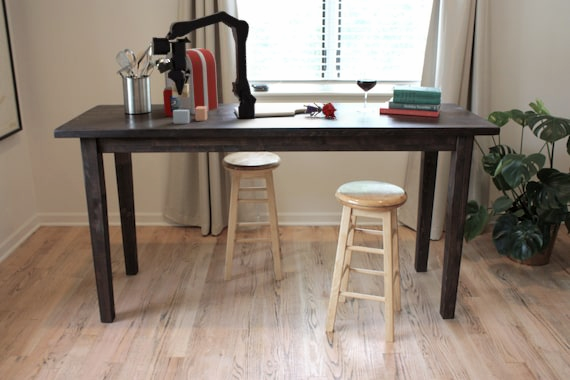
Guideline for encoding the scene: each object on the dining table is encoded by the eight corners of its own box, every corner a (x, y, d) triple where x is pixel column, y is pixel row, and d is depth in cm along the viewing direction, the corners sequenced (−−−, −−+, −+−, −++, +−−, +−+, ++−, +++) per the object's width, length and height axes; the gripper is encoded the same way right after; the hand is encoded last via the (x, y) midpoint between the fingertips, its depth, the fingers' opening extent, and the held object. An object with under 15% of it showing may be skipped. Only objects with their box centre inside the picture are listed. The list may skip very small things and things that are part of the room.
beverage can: (177, 117, 262) (175, 89, 258) (162, 116, 263) (160, 88, 260) (182, 114, 268) (181, 87, 265) (168, 114, 269) (166, 86, 266)
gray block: (190, 121, 252) (189, 109, 250) (188, 123, 248) (187, 111, 247) (175, 121, 252) (174, 109, 251) (173, 123, 248) (172, 111, 247)
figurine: (306, 112, 263) (340, 114, 259) (301, 120, 257) (335, 122, 252) (305, 98, 260) (340, 100, 256) (300, 106, 253) (335, 107, 249)
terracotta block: (198, 118, 260) (197, 106, 258) (207, 118, 259) (206, 106, 258) (195, 120, 254) (195, 108, 252) (205, 120, 254) (204, 108, 252)
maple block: (189, 96, 249) (188, 83, 247) (187, 97, 245) (187, 84, 244) (174, 96, 249) (173, 83, 248) (172, 97, 245) (171, 84, 244)
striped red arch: (219, 108, 284) (216, 48, 276) (194, 113, 269) (190, 51, 262) (191, 105, 292) (188, 47, 284) (166, 111, 278) (161, 50, 270)
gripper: (163, 53, 251) (165, 91, 256) (153, 56, 233) (155, 97, 238) (190, 53, 251) (192, 91, 256) (182, 56, 233) (184, 97, 238)
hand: (180, 94), depth 247 cm, fingers closed on maple block, 4 cm apart
